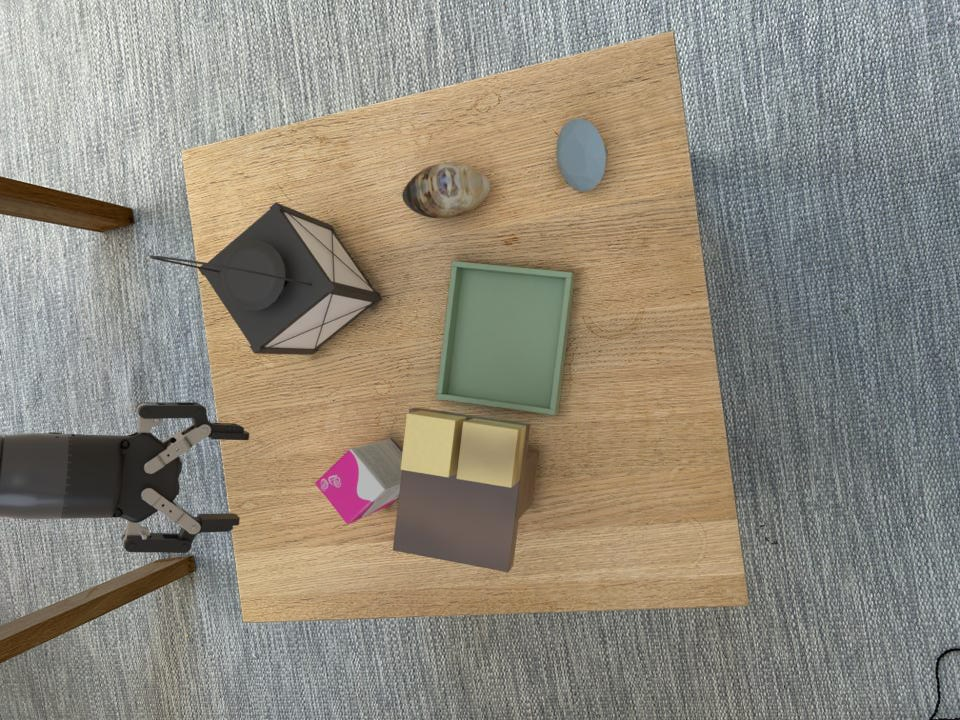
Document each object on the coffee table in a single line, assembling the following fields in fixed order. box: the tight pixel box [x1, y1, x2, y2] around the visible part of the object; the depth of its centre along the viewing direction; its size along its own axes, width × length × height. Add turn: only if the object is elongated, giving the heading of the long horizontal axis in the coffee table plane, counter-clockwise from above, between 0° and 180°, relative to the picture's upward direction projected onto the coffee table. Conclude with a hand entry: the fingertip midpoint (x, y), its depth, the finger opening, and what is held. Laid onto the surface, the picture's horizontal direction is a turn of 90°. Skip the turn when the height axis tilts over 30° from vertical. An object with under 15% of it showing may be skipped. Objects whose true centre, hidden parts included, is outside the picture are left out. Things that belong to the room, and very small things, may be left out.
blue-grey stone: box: [555, 117, 608, 193], centre depth 82 cm, size 8×8×5 cm
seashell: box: [401, 162, 491, 219], centre depth 83 cm, size 10×6×8 cm, turn 98°
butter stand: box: [392, 407, 540, 573], centre depth 73 cm, size 12×10×26 cm
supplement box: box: [314, 438, 403, 525], centre depth 83 cm, size 6×6×12 cm
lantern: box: [149, 201, 383, 356], centre depth 77 cm, size 11×11×28 cm
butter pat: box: [401, 411, 466, 477], centre depth 62 cm, size 4×4×4 cm
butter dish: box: [435, 260, 576, 416], centre depth 84 cm, size 15×13×3 cm
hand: (242, 477), depth 77 cm, fingers open, 8 cm apart
